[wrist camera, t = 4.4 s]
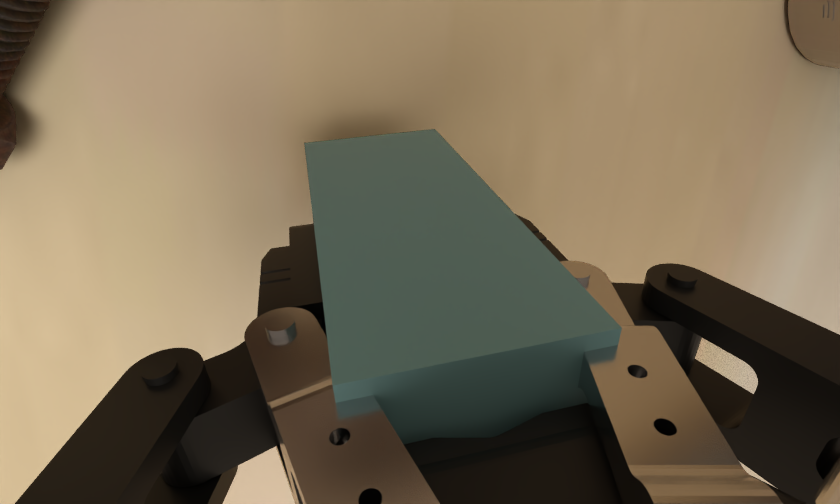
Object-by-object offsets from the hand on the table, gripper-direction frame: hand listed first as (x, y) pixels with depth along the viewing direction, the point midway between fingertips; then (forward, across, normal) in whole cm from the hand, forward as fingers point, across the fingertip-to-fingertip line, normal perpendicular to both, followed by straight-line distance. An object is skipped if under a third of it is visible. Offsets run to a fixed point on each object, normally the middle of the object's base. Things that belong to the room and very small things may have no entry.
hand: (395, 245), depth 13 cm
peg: (+3, 0, 0) cm, 3 cm away
